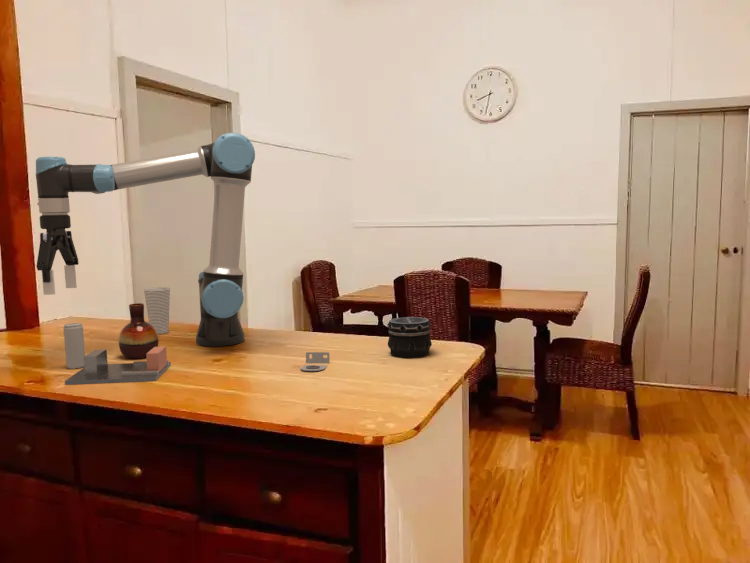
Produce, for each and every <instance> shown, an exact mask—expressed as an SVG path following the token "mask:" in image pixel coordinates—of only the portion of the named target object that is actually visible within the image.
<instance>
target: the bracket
mask: <svg viewBox="0 0 750 563" xmlns="http://www.w3.org/2000/svg"><path fill="white" fill-rule="evenodd" d="M310 355H311V358H310ZM324 356H326V357H324ZM309 364H310V365H309ZM316 364H317V365H316ZM319 364H321V365H319ZM322 364H323V365H322ZM324 364H330V352H325V351H322V352H321V351H320V352H319V351H313V352H311V351H306V352H305V364H304V365H302V366H301V367H300V370H301V371H305V372H319V371H324V370H326V369H327V367H328V365H324Z"/></svg>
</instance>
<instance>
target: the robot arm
mask: <svg viewBox="0 0 750 563" xmlns="http://www.w3.org/2000/svg"><path fill="white" fill-rule="evenodd" d="M255 159H256V151H255V147H254V145H253V143H252V142H251V140H250V139H249V138H248V137H246V136H245V135H243V134H242V133H239V132H227V133H224V134H221V135H220V136H219V137H217V139H215V141H214V142H212V143H209V144H205V145H200V146H198V148H197V149H195V150H190V151H189V150H188V151H184V152H179V153H171V154H166V155H160V156H155V157H149V158H143V159H142V158H141V159H139V160H137V159H136V160H131V161H127V162H120V163H113V164H101V163H97V164H71V163H67V160H66V158H65V157H62V156H39V157H38V158H37V159H35V179H36V180H35V181H36V190H37V199H38V200H37V203H36V205H37V206H38V211H39V214H41V215H40V216H39V226H40V229H42V230H46V232H40V233H39V240H40V241H39V248H38V254H37V262H36V269H37V271H41V277H42V278H41V279H42V291H43V295H44V296H49V295H56V287H55V274H54V273H55V272H54V269H52V268H53V265H54V260H55V257H56V254H57V251H59V253H60V255H61V257H62V259H63V261H64V264H65V265H64V267H63V268H64V279H65V288H66V289H76V288H77V276H76V266H79V258H78V254H77V250H76V247H75V244H74V240H73V236H72V231H71V230H66V229H70V228H72V224H71V215H69V214H68V213H70V212H71V209H70V207H71V206H70V198H69V197H70V196H69V193H92V194H95V195H100V194H104V193H106V192H107V193H108V192H113V191H117V190H118V191H119V190H123V189H129V188H132V187H133V188H135V187H139V186H146V185H152V184H156V183H161V182H167V181H173V180H179V179H183V178H184V179H186V178H190V177H195V176H201V175H202V176H204V177H206V178H209V177H210V179H211V180H212V181H213V183H214V184H215V187H214V199H213V210H212V211H213V212H212V227H211V238H210V239H211V240H210V248H209V249H210V252H209V264H208V266H207V267H206V268H204V269H203V271H201V272H200V273H198V280H197V282H198V283H197V284H198V291H199V307H200V308H199V310H200V321H199V325H198V329H197V332H196V335H195V336H196V337H195V339H196V340H195V341H196V342H195V343H196V345H198V346H201V347H225V346H232V345H237V344H240V343H243V342H244V341H245V332H244V330H243V327H242V324H241V322H240V319H239V314H238V313H239V311H240V310H241V308H242V306H243V304H244V293H243V283H244V272H243V271H242V270H241V269H240V267H239V266H240V254H241V244H242V242H241V241H242V232H243V218H244V204H245V196H246V195H245V192H246V187H247V186H248V185H249V184H251V183H252V182H251V181H252V173H253V172H252V170H253V165H254V163H255V162H254V161H255Z"/></svg>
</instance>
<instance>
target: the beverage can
mask: <svg viewBox="0 0 750 563" xmlns="http://www.w3.org/2000/svg"><path fill="white" fill-rule="evenodd" d="M84 337H85V336H84V327H83V323H81V322H74V323H73V322H72V323H66V324H64V325H63V338H64V349H65V350H64V352H65V364H66V368H67V369H69V370H77V369H76V368H78V369H83V368H84V367H85V366H84V356H86V352H85V349H86V348H85V340H84V339H85V338H84Z"/></svg>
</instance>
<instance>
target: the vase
mask: <svg viewBox="0 0 750 563" xmlns="http://www.w3.org/2000/svg"><path fill="white" fill-rule="evenodd" d="M128 310H129V316H130V321H129V323H127V324H125V326H123V328H122V329H121V330H120V332H119V335H118V342H117V343H118V346H119V351H120V352H121V355H123V357H124V358H126V359H129V360H132V359H133V360H141V359H147V358H146V354H147V353H148V352H149V351H150V350H151V349H153V348H154V347H159V342H160V341H159V339H160V338H159V334H158V333H157V331H156V329H155V328H154V327H153V326H152V325H151V324H149V322H147V321H145V304H144V303H141V302H139V303H138V302H137V303H130V304H129V305H128Z"/></svg>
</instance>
